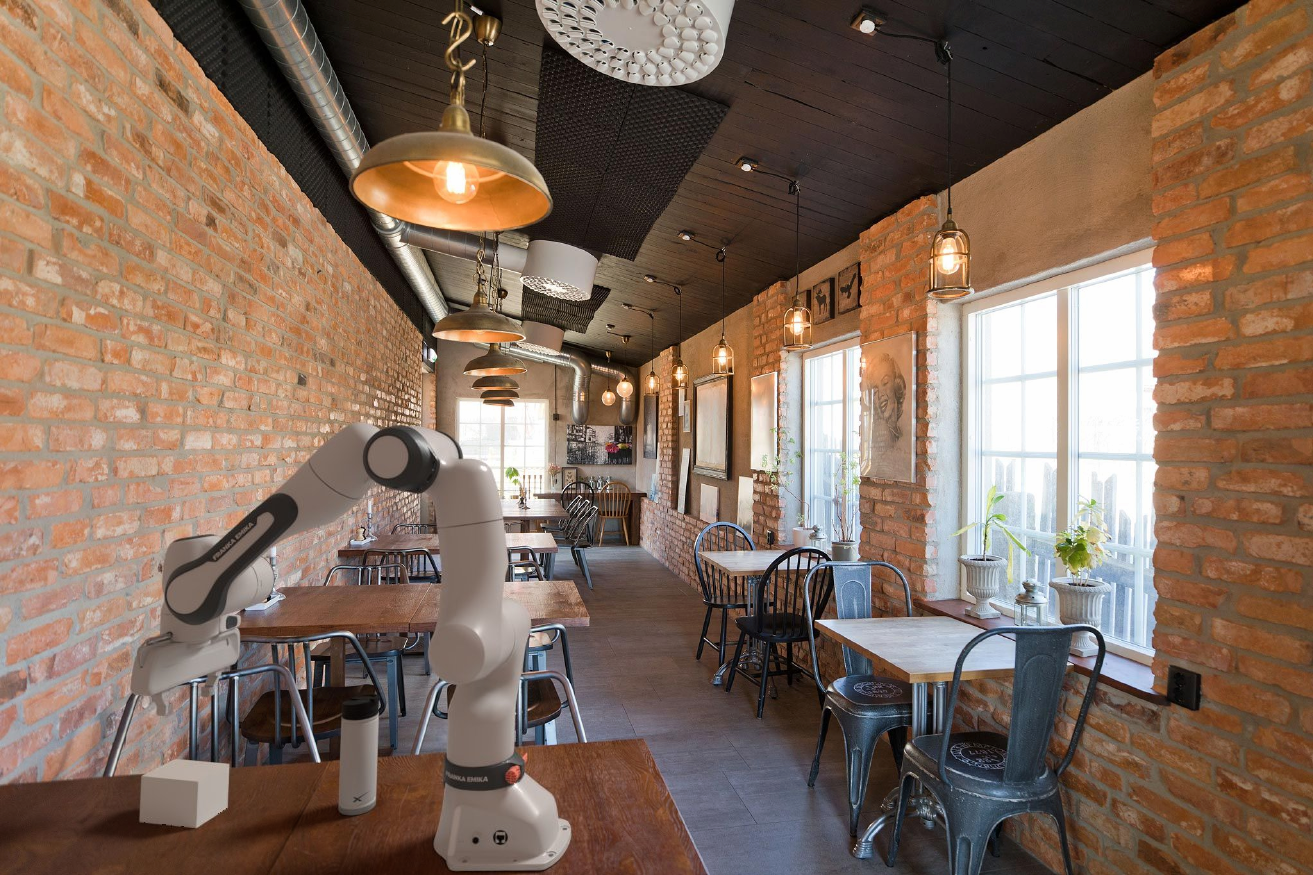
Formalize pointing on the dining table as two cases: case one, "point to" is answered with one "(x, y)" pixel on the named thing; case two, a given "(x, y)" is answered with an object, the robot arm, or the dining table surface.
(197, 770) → the off-white rectangular block
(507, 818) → the robot arm
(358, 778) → the travel mug
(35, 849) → the dining table surface
